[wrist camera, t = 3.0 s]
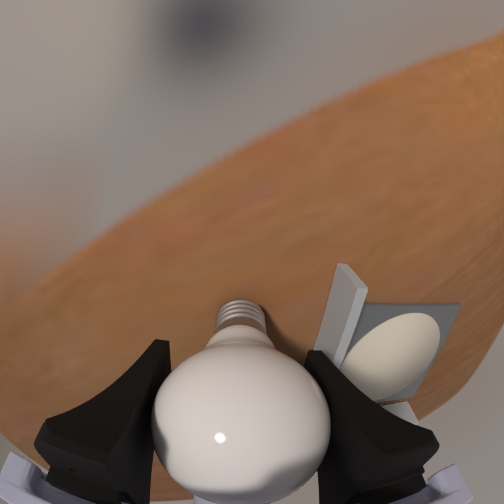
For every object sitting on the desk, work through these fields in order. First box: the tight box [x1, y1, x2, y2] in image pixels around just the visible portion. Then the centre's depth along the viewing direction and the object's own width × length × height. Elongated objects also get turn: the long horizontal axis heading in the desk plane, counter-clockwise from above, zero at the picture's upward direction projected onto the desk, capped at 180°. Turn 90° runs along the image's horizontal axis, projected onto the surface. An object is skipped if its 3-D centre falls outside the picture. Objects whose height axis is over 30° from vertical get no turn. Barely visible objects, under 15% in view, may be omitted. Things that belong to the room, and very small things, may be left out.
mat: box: [339, 303, 461, 403], centre depth 18 cm, size 10×10×1 cm
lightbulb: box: [150, 299, 331, 504], centre depth 11 cm, size 6×6×11 cm
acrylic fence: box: [313, 263, 419, 425], centre depth 17 cm, size 15×12×3 cm
